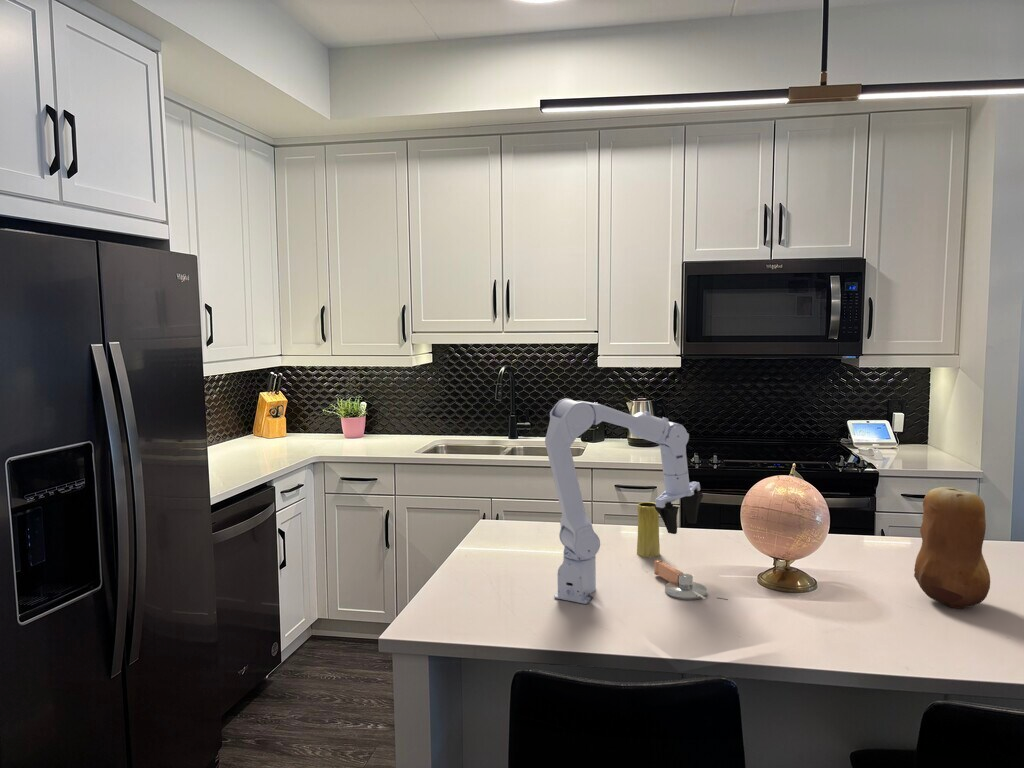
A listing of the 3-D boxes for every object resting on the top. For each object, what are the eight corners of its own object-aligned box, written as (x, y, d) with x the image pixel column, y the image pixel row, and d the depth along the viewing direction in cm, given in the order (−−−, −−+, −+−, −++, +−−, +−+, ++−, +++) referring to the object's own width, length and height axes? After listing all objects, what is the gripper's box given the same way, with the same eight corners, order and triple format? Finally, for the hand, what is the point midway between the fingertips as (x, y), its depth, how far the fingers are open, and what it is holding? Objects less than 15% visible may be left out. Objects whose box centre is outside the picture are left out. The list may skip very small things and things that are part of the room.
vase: (633, 560, 187) (633, 506, 186) (640, 553, 193) (640, 500, 192) (656, 563, 185) (656, 508, 183) (663, 556, 190) (663, 502, 189)
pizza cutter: (722, 600, 157) (722, 583, 156) (686, 606, 154) (686, 589, 153) (672, 572, 174) (672, 557, 174) (639, 577, 171) (639, 562, 171)
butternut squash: (987, 599, 158) (992, 485, 156) (990, 621, 147) (995, 499, 145) (914, 588, 165) (917, 479, 163) (912, 608, 154) (915, 492, 152)
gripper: (670, 482, 163) (677, 540, 165) (708, 465, 172) (714, 520, 174) (645, 479, 168) (652, 535, 170) (683, 463, 178) (690, 516, 179)
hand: (682, 527), depth 172 cm, fingers open, 7 cm apart
